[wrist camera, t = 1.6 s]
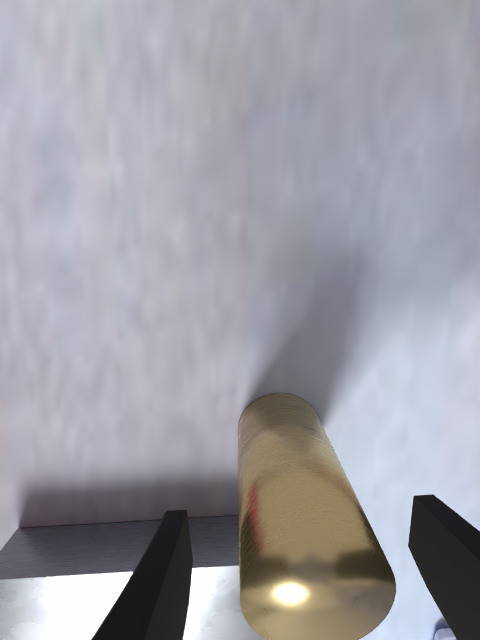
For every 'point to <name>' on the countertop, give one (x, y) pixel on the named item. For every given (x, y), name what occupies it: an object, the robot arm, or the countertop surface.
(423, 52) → the countertop surface
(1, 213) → the countertop surface
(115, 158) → the countertop surface
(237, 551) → the plate
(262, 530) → the brass cylinder
